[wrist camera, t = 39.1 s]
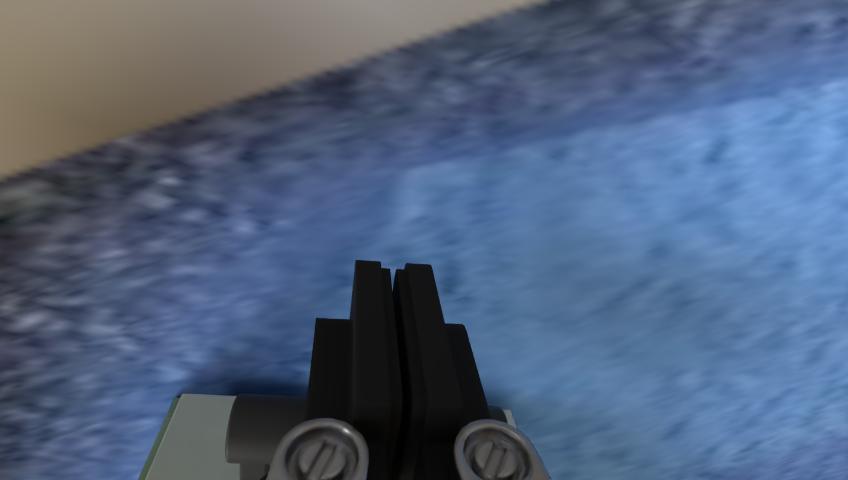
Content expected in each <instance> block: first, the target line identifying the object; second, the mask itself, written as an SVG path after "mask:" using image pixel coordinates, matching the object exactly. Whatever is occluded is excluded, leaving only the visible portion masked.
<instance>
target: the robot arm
mask: <svg viewBox="0 0 848 480" xmlns="http://www.w3.org/2000/svg"><path fill="white" fill-rule="evenodd" d="M260 480H551V478H550V476H549V474H548V472H547V470H546V468H545V466H544V464H543V462H542V460H541V458H540V456H539V454H538V453H537V451H536V449H535V447H534V446H533V444H532V443H531V442H530V440H529V439H528V438H527V437H526V436H525V435H524V434H523V433H522V432H521V431H519V430H518V429H517V428H515V427H513V426H511V425H509V424H507V423H505V422H501V421H497V420H492V419H491V416H490V412H489V409H488V405H487V402H486V398H485V395H484V391H483V388H482V384H481V381H480V377H479V374H478V370H477V366H476V363H475V359H474V356H473V352H472V349H471V345H470V342H469V338H468V335H467V331H466V329H465V326H464V325H463V324H447V323H445V322H444V318H443V313H442V309H441V305H440V300H439V296H438V292H437V287H436V283H435V279H434V274H433V270H432V267H431V265H428V264H412V263H406V265H405V268H404V269H396V272H395V278H394V285H393V291H392V283H391V273H390V269H387V268H381V262H380V261H364V260H356V262H355V271H354V281H353V291H352V302H351V312H350V319H327V318H316V324H315V333H314V342H313V351H312V360H311V369H310V378H309V387H308V396H307V405H306V414H305V422H303V423H301V424H299V425H298V426H296V427H294V428H292V429H291V430H290V431H289V432H288V433H287V434H286V435H285V436H284V437H283V438H282V440H281V442H280V444H279V446H278V447H277V449H276V452H275V455H274V458H273V461H272V464H271V467H270V470H269V473H267V474H266V475H265V476H264V477H262V478H261V479H260Z"/></svg>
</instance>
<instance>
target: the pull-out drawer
mask: <svg viewBox="0 0 848 480" xmlns="http://www.w3.org/2000/svg"><path fill="white" fill-rule="evenodd" d="M306 405H307V397H302V396H282V395H263V394H243V393H241V394H238V395H237V396H226V395H206V394H186V393H184V394H182V395H181V398H180V400H179V402H178V404H177V407H176V409H175V411H174V414H173V416H172V418H171V421H170V423H169V425H168V428H167V430H166V432H165V435H164V437H163V439H162V442H161V444H160V446H159V449H158V451H157V453H156V456H155V458H154V460H153V463H152V465H151V467H150V470H149V472H148V474H147V477H146V479H145V480H260V479H261V478H262V477H264V476H265V475H266V474H267V473H269V470H270V467H271V464H272V461H273V458H274V455H275V452H276V449H277V447H278V446H279V444H280V442H281V440H282V438H283V437H284V436H285V435H286V434H287V433H288V432H289V431H290V430H291V429H292V428H294V427H296V426H298V425H299V424H301V423H303V422H305V414H306ZM488 409H489V412H490V416H491V419H492V420H497V421H501V422H505V423H507V424H509V425H511V426H513V427H515V428H516V425H515V422H514V419H513V415H512V412H511V410H504V409H501V408H500V407H497V406H488Z"/></svg>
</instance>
